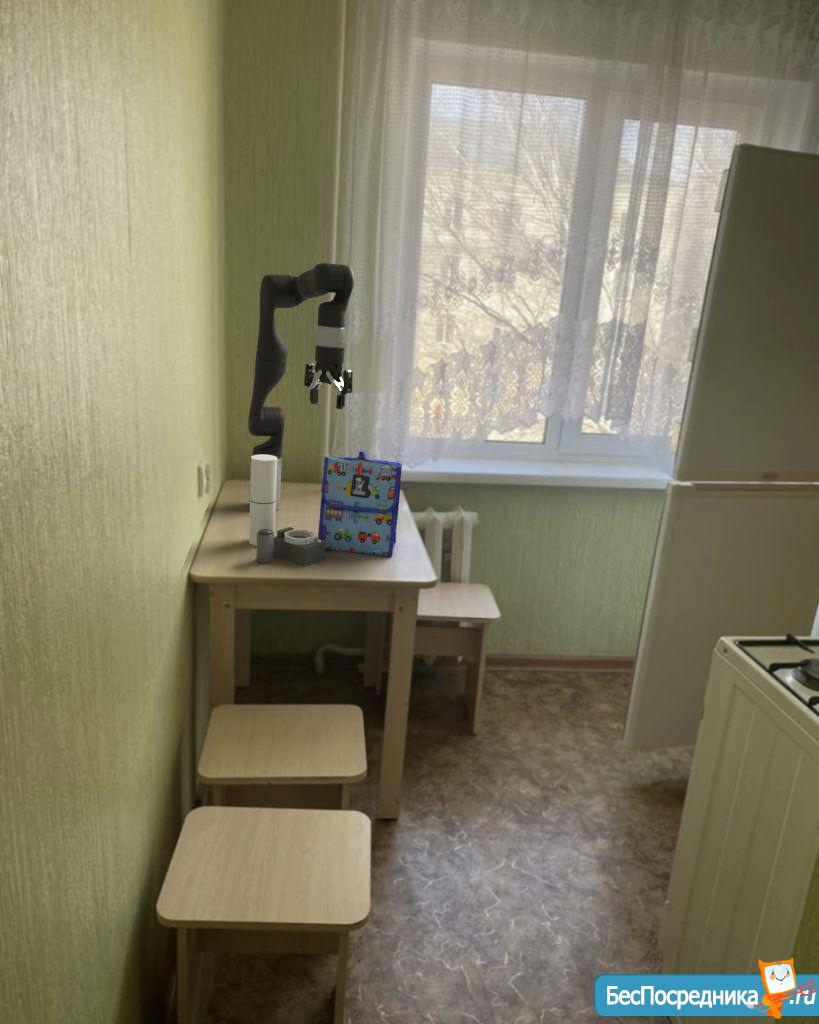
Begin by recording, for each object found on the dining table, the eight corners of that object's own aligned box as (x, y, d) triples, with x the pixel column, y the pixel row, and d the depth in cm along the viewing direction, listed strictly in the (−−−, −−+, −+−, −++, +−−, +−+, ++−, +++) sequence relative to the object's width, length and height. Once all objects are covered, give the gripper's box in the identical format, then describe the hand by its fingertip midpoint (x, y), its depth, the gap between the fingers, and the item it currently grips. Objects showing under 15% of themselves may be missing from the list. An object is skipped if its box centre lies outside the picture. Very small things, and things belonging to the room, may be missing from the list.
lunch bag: (316, 550, 217) (322, 451, 208) (324, 535, 230) (330, 441, 221) (392, 558, 216) (401, 459, 207) (396, 542, 229) (404, 448, 220)
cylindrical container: (250, 546, 215) (252, 460, 207) (248, 537, 221) (250, 454, 214) (275, 546, 217) (278, 460, 209) (272, 537, 223) (275, 454, 216)
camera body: (272, 554, 210) (273, 531, 208) (292, 547, 217) (293, 525, 215) (305, 566, 204) (306, 543, 202) (324, 558, 211) (325, 536, 209)
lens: (252, 560, 205) (253, 530, 202) (264, 556, 208) (265, 527, 206) (264, 565, 202) (265, 534, 200) (276, 561, 206) (277, 531, 203)
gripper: (299, 341, 198) (297, 403, 203) (343, 348, 191) (339, 412, 196) (317, 340, 204) (314, 400, 209) (360, 347, 197) (356, 409, 202)
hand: (326, 406), depth 203 cm, fingers open, 8 cm apart
